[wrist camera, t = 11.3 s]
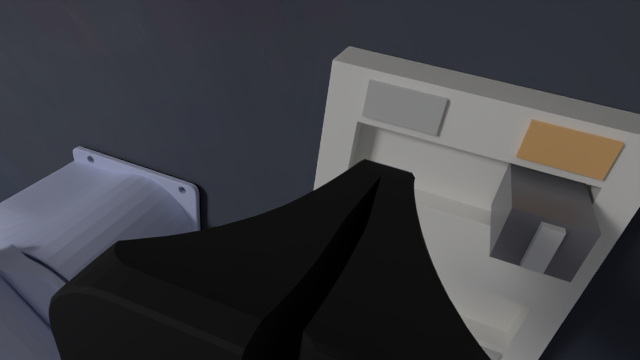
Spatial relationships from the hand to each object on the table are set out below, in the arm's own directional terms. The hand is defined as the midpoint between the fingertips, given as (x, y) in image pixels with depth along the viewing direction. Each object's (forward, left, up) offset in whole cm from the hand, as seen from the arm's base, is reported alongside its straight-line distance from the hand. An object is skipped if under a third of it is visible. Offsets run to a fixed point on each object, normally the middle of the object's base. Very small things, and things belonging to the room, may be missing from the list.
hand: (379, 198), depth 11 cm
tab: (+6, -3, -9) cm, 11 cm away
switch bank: (+2, -7, -10) cm, 13 cm away
